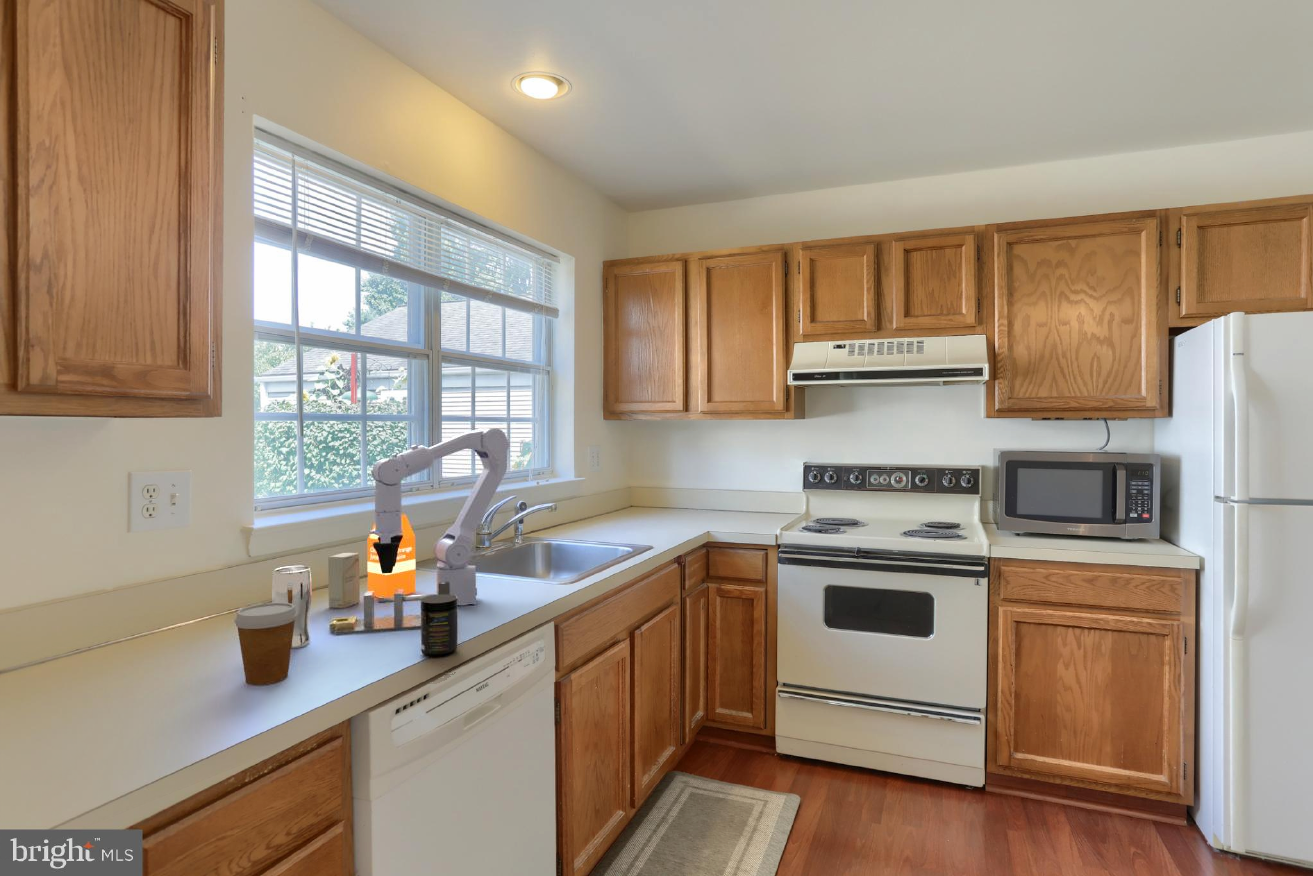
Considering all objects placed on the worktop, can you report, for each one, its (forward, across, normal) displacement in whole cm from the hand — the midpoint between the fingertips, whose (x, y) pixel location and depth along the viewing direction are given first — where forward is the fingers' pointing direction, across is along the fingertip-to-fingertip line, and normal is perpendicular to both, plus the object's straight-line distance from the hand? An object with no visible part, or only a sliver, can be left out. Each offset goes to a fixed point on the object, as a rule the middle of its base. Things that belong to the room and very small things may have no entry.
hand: (388, 569), depth 160 cm
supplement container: (+10, +33, +12) cm, 37 cm away
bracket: (+10, +11, 0) cm, 15 cm away
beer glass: (+10, +20, -16) cm, 28 cm away
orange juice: (+10, -19, -1) cm, 22 cm away
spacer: (+9, +11, -8) cm, 16 cm away
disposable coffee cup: (+10, +39, -16) cm, 43 cm away
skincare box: (+10, -10, -11) cm, 18 cm away
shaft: (+7, +11, +6) cm, 14 cm away
